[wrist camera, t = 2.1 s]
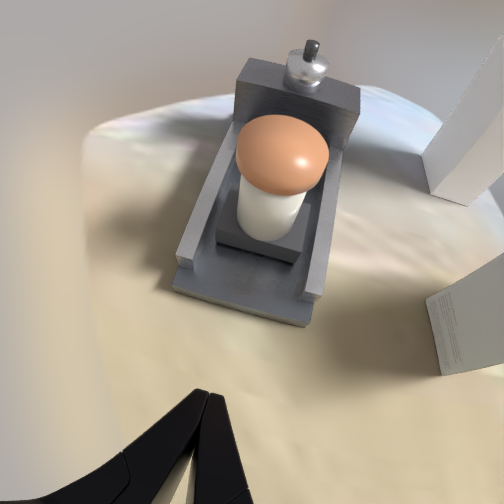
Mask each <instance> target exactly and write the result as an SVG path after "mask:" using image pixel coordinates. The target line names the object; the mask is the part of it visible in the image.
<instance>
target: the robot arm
mask: <svg viewBox="0 0 504 504" xmlns="http://www.w3.org/2000/svg"><path fill="white" fill-rule="evenodd" d="M192 454H193V455H192ZM191 456H192V461H191V467H190V475H189V482H188V490H187V498H186V504H254V503H253V500H252V497H251V493H250V490H249V489H248V484H247V480H246V477H245V473H244V470H243V466H242V463H241V459H240V456H239V452H238V449H237V445H236V441H235V437H234V434H233V430H232V426H231V422H230V418H229V414H228V410H227V406H226V402H225V398H224V396H222V395H219V394H215V393H210V394H209V392H208V391H205V390H201V389H198V388H197V389H194V390H193V391H192V392H191V393H190V394H189V395H188V396H186V397H185V398H184V399H183V400H182V401H181V402H180V403H178V404H177V405H176V406H175V407H174V408H173V409H171V410H170V411H169V412H168V413H167V414H166V415H164V416H163V417H162V418H161V419H160V420H159V421H157V422H156V423H155V424H154V425H153V426H151V427H150V428H149V429H148V430H147V431H145V432H144V433H143V434H142V435H141V436H139V437H138V438H137V439H136V440H134V441H133V442H132V443H131V444H129V445H128V446H127V447H126V448H125V449H123V451H122V452H119V453H118V454H117V455H116V456H114V457H113V458H112V459H110V460H109V461H108V462H106V463H105V464H103V465H102V466H101V467H99V468H98V469H96V470H95V471H93V472H91V473H89V474H88V475H86V476H84V477H82V478H80V479H79V480H77V481H75V482H73V483H71V484H69V485H67V486H65V487H63V488H61V489H59V490H58V491H55V492H53V493H51V494H49V495H47V496H44V497H41V498H37V499H32V500H20V501H0V504H170V502H171V500H172V498H173V496H174V493H175V491H176V489H177V487H178V485H179V483H180V481H181V479H182V476H183V474H184V472H185V470H186V468H187V466H188V464H189V461H190V459H191Z"/></svg>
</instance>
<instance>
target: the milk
mask: <svg viewBox="0 0 504 504" xmlns="http://www.w3.org/2000/svg"><path fill="white" fill-rule="evenodd" d="M421 156H422V160H423V164H424V168H425V172H426V176H427V181H428V185H429V190H430V194H431V195H434V196H437V197H440V198H443V199H447V200H450V201H453V202H456V203H459V204H462V205H465V206H469V205H471V204H472V203H473V202H474V201H475V200H476V199H477V198H478V197H479V196H480V195H481V194H482V193H483V192H484V191H485V190H486V189H487V188H488V187H489V186H490V185H491V184H492V183H493V182H494V181H495V180H496V179H497V178H498V177H499V176H500V175H501V174H502V173H503V172H504V34H500V36H499V37H498V39H497V41H496V42H495V44H494V46H493V47H492V49H491V51H490V52H489V54H488V56H487V57H486V59H485V61H484V62H483V64H482V66H481V67H480V69H479V71H478V72H477V74H476V75H475V77H474V79H473V80H472V82H471V83H470V85H469V86H468V88H467V89H466V91H465V92H464V94H463V96H462V97H461V99H460V100H459V101H458V103H457V104H456V106H455V108H454V109H453V110H452V112H451V113H450V115H449V116H448V118H447V119H446V121H445V122H444V124H443V125H442V126H441V128H440V129H439V131H438V132H437V134H436V135H435V136H434V138H433V139H432V141H431V142H430V143H429V145H428V146H427V148H426V149H425V150H424V152H423V153H422V155H421Z"/></svg>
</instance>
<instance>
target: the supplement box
mask: <svg viewBox="0 0 504 504" xmlns="http://www.w3.org/2000/svg"><path fill="white" fill-rule="evenodd" d="M426 305H427V309H428V313H429V317H430V322H431V326H432V331H433V335H434V340H435V345H436V349H437V355H438V360H439V365H440V370H441V374H442V375H443V376H446V375H452V374H458V373H463V372H468V371H472V370H477V369H482V368H486V367H490V366H494V365H498V364H502V363H504V253H502V254H501V255H499V256H498V257H496V258H495V259H493V260H492V261H490V262H488V263H487V264H485V265H484V266H482V267H480V268H479V269H477V270H476V271H474V272H472V273H471V274H469V275H467V276H466V277H464V278H462V279H461V280H459V281H457V282H455V283H454V284H452V285H450V286H449V287H447V288H445V289H443V290H441V291H440V292H438V293H436V294H434V295H432V296H431V297H429V298H426Z"/></svg>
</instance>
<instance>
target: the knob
mask: <svg viewBox="0 0 504 504" xmlns="http://www.w3.org/2000/svg"><path fill="white" fill-rule="evenodd" d="M328 159H329V150H328V146H327V144H326V142H325V140H324V138H323V137H322V136H321V134H320V133H319V132H318V131H317V130H316V129H314V128H313V127H312V126H310V125H309V124H307V123H306V122H304V121H302V120H299V119H297V118H293V117H290V116H285V115H266V116H261V117H258V118H255V119H253V120H251V121H250V122H248V123H247V124H246V125H245V126H244V127H243V128H242V129H241V131H240V133H239V135H238V140H237V150H236V163H237V166H238V169H239V171H240V173H241V180H240V185H239V184H235V183H232V184H231V187H230V190H229V192H228V195H227V198H226V200H225V203H224V206H223V208H222V211H221V214H220V217H219V219H218V222H217V225H216V228H215V241H216V242H219V243H223V244H226V245H230V246H233V247H237V248H241V249H244V250H248V251H251V252H255V253H259V254H262V255H266V256H269V257H273V258H277V259H280V260H284V261H287V262H291V263H294V264H295V263H296V261H297V259H298V258H299V256H300V254H301V252H302V248H303V243H304V238H305V233H306V228H307V223H308V218H309V212H310V207H311V205H310V204H307V203H304V202H303V200H304V197H305V195H306V192H307V191H308V190H310V189H312V188H313V187H314V186H315V185H316V184H317V183H318V182H319V180H320V178H321V176H322V174H323V171H324V169H325V167H326V165H327V162H328Z"/></svg>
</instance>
